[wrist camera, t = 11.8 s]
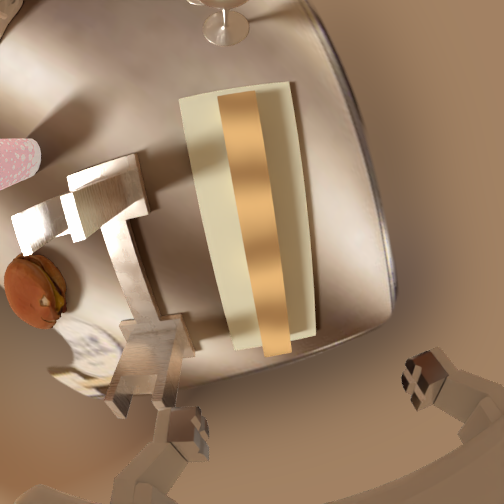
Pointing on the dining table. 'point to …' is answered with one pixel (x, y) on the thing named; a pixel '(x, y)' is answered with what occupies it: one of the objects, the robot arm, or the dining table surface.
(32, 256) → the burger
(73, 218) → the rack
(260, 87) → the mat
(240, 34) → the goblet set
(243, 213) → the bar
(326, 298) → the dining table surface
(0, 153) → the beverage cup
